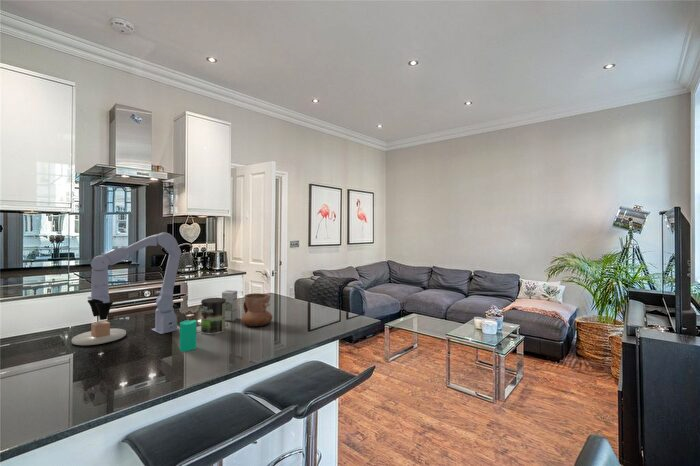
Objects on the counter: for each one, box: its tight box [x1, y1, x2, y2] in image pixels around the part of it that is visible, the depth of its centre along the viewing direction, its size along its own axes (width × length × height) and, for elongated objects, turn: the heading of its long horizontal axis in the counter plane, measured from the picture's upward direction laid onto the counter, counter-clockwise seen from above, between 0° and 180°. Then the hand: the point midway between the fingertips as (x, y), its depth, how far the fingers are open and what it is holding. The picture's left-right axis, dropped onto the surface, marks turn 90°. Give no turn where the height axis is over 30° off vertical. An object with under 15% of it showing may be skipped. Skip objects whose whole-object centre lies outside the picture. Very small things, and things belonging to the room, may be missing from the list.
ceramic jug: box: [241, 292, 273, 327], centre depth 162 cm, size 18×14×14 cm
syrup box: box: [221, 289, 238, 322], centre depth 168 cm, size 6×6×14 cm
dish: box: [71, 328, 127, 346], centre depth 138 cm, size 18×18×2 cm
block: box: [90, 320, 111, 338], centre depth 138 cm, size 5×5×5 cm
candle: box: [179, 317, 198, 352], centre depth 129 cm, size 6×6×12 cm
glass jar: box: [200, 297, 226, 335], centre depth 150 cm, size 10×10×14 cm
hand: (100, 317), depth 137 cm, fingers open, 7 cm apart
